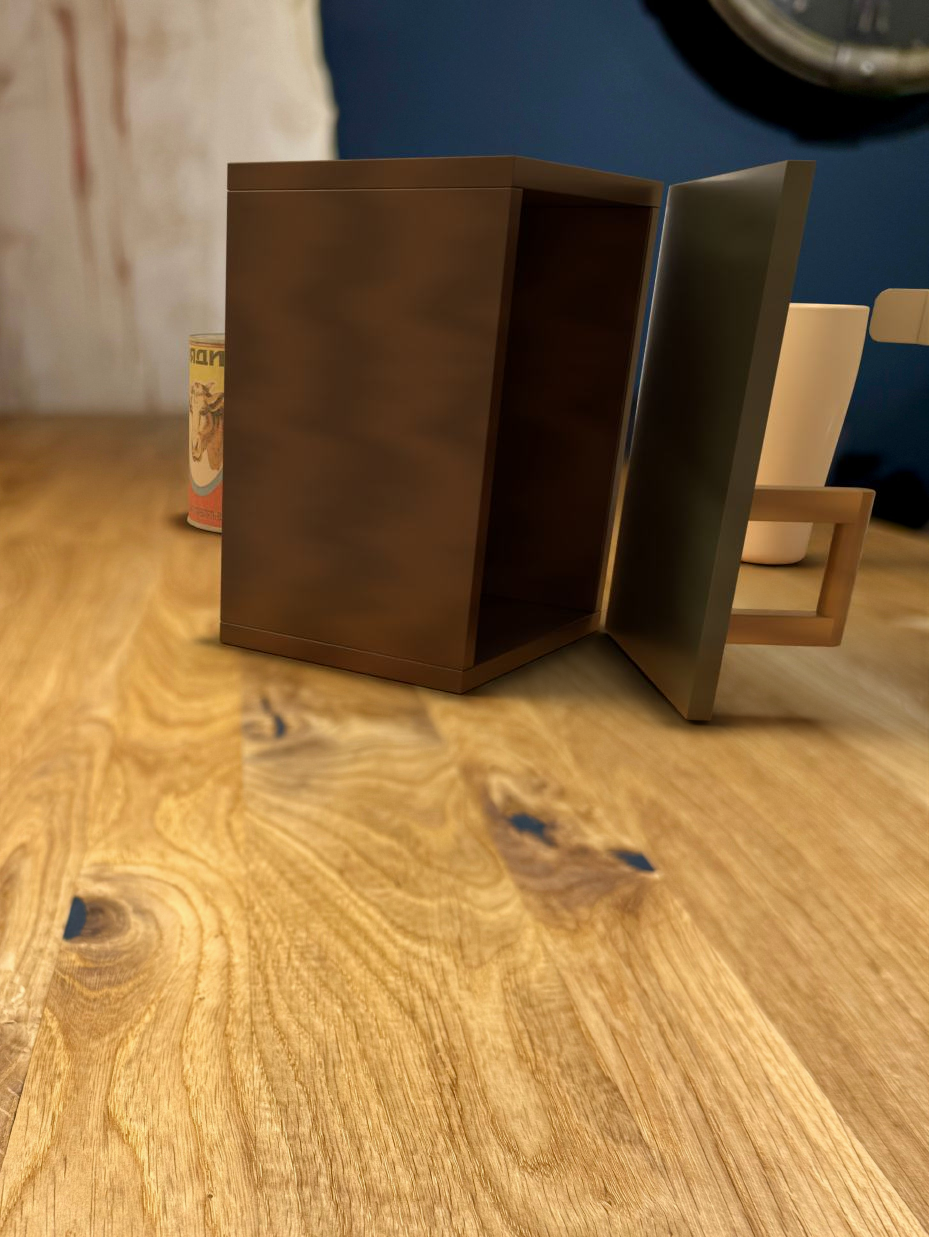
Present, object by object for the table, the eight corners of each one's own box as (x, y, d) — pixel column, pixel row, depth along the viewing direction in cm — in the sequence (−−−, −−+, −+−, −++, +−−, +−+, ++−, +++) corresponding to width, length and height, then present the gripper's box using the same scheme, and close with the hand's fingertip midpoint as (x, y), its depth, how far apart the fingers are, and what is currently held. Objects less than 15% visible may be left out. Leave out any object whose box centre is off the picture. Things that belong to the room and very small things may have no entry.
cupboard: (599, 629, 67) (664, 181, 58) (460, 694, 56) (515, 154, 47) (380, 591, 74) (409, 184, 65) (219, 642, 63) (226, 162, 54)
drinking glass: (770, 546, 89) (818, 303, 82) (840, 566, 83) (897, 306, 77) (685, 550, 87) (728, 301, 80) (751, 570, 81) (802, 304, 75)
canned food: (158, 515, 94) (157, 333, 89) (287, 504, 100) (293, 332, 94) (243, 542, 86) (247, 342, 80) (379, 529, 91) (391, 341, 86)
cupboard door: (724, 632, 66) (807, 188, 58) (837, 724, 53) (969, 164, 44) (603, 628, 66) (669, 184, 58) (686, 719, 53) (787, 159, 44)
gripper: (1361, 239, 52) (976, 236, 59) (1376, 210, 37) (859, 212, 44) (1300, 409, 54) (940, 387, 62) (1291, 447, 39) (818, 411, 47)
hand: (905, 314), depth 53 cm, fingers open, 8 cm apart
